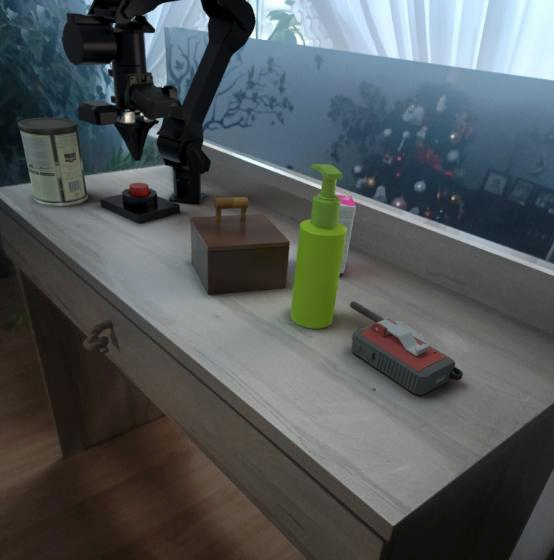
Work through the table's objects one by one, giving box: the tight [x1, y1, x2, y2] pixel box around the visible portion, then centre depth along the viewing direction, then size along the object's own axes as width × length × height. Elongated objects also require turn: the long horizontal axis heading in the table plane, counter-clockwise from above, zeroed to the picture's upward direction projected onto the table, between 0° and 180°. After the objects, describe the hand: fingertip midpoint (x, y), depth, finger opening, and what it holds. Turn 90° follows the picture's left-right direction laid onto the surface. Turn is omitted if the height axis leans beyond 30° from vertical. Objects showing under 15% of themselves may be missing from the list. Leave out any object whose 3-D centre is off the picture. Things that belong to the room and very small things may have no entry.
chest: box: [190, 224, 290, 296], centre depth 79 cm, size 11×12×7 cm
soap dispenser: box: [290, 163, 347, 330], centre depth 66 cm, size 6×7×20 cm
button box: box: [99, 188, 181, 225], centre depth 100 cm, size 10×12×4 cm
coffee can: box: [17, 117, 89, 207], centre depth 99 cm, size 10×10×14 cm
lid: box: [189, 196, 291, 252], centre depth 76 cm, size 12×12×4 cm
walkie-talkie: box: [349, 300, 464, 396], centre depth 65 cm, size 9×4×20 cm
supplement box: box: [317, 192, 357, 277], centre depth 82 cm, size 6×6×12 cm
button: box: [128, 182, 150, 196], centre depth 99 cm, size 4×4×2 cm
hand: (137, 160), depth 96 cm, fingers closed
